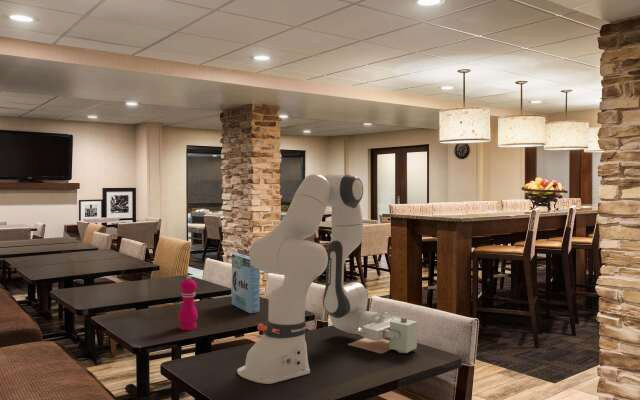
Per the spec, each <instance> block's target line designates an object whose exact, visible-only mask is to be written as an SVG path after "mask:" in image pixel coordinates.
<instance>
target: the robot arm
mask: <svg viewBox="0 0 640 400" xmlns="http://www.w3.org/2000/svg"><path fill="white" fill-rule="evenodd" d="M363 197H364V185H363V182H362V180H361V179H360V177H358V176H357V175H355V174H347V173H346V174H324V175H323V174H322V175H320V174H318V173H317V174H316V173H313V174H309V175H307V176H306V177H305V178H304V179H303V180H302V182H301V183H300V185H299V186H298V188H297V190H296V191H295V193H294V195H293V198H292V201H291V202H290V205H289V207H288V208H287V211H286V213H285V215H284V216H283V218H282V220H281V221H280V222H279V223H278V224H277V225H276V226H274V228H273V229H272V230H271V231H270V232H268V233H266V234H265V235H263V236H262V237H260V238H257V239H255V240H254V241H253V242H252V244H251V246H250V249H249V253H248V256H249V258H250V262H251V264H252V266H253V267H254V268H256V269H259V270H260V272H261V271H262V272H264V273H269V274H276V275H282V276H284V278H283V283H282V285H280V286H278V287H276V288H275V289H273V290H272V291H271V293H270V294H269V296H268V307H267V308H268V312H267V313H268V315H267V317H268V318H267V320H266V322H265V324H264V323H259V324H258V325H257V327H256V328H257V330H258V331H261V332H263V334H262V335H261V337H259V339H258V340H257V341H256V342H255V344H253V346H251V348H249V350H248V351H247V353H246V358H245V364H244V365H243V366H241V367H239V368H237V369H236V370H237V371H236V372H237V375H239V376H240V377H242V378H243V379H246V380H248V381H251V382H255V383H258V384H266V385H267V384H268V385H271V384H275V383H278V382H283V381H286V380H291V379H293V378H297V377H301V376H305V375H308V374H310V373H311V369H310V365H309V360H308V359H309V358H308V349H307V348H308V346H307V341H306V332H307V320H306V315H305V314H306V313H305V312H306V300H307V294H308V292H309V288H310V287H311V285H312V283H314V281H315V280H316V279H317V278H318V277H319V276H321V275H323V273H324V272H326V273H325V287H324V292H323V296H322V305H323V307H324V310H325V312H326V313H327V314H328V315H329V316H330V322H331V324H332V325H333V326H334V327H335V328H336V329H338V330H339V331H343V332H345V333H350V334H357V335H359V336H361V337H362V338H367V339H370V340H374V341H379V340H381V339H387V338H389V339H390V338H393V337H394V338H399V337H400V334H401V333H400V332H397V331H395V332H394V331H390V321H393V320H396V319H399V318H401V316H398V315H393V314H389V312H387V311H379V312H378V311H377V312H376V311H369V310H367V309H368V304H369V303H368V302H369V293H368V290H367V288H366V286H365V285H364V284H362V283H361V282H358V281H353V282H349V283H347V284H344V274H345V270H344V269H345V264H346V261H347V259H348V257H349V256H350V255H351V253H352V252H353V251H354V250H356V249H357V248H359V246H360V244H361V243H362V241H363V238H364V223H363V213H362V209H361V205H360V203H361V200H362V199H363ZM327 207H331V220H330V221H331V237H330V243H329V244H328V248H327V250H326V248H325V246H324V245H322V244H320V243H318V242H315V241H311V240H307V238H310V237H311V236H314V235H315V234H316V233H317V232H318V230H319V227H320V226H321V223H322V219H323V217H324V214H325V212H326V209H327Z"/></svg>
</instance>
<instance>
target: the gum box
mask: <svg viewBox="0 0 640 400" xmlns="http://www.w3.org/2000/svg"><path fill="white" fill-rule="evenodd" d="M260 272H261V270H259V269H256V268H254V267H253V266H252V264H251V262H250V258H249V254H245V253H244V254H243V253H242V252H240V253H239V252H237V253H231V305H233V306H235V307H237V308H238V309H241V310H242V311H244V312H247V313H248V314H255V313H260V312H261V311H260V304H261V303H260V302H261V301H260V300H261V298H260V297H261V296H260V294H261V293H260V292H261V290H260V289H261V288H260V287H261V283H260V281H261V278H260V275H261V274H260Z"/></svg>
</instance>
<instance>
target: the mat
mask: <svg viewBox="0 0 640 400" xmlns="http://www.w3.org/2000/svg"><path fill="white" fill-rule="evenodd" d="M389 341H390V339H389V340H388V339H386V338H384V339H381V340H379V341H374V340H370V339H367V338H365V337H362V338H361V339H358V340H355V341H353V342H350V343H347V345H348V346H351V347H355V348H359V349H364V350H365V351H371V352H374V353H376V354H377V353H378V354H384V353H386V352H388V351H390V350H392V349H390V348H389Z"/></svg>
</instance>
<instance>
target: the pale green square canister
mask: <svg viewBox="0 0 640 400" xmlns="http://www.w3.org/2000/svg"><path fill="white" fill-rule="evenodd" d="M400 317H401V316H400ZM390 331H394V332H395V331H397V332H400V333H401V334H400V337H399V338H394V337H393V338H389V348H390V349H391V350H395V351H397V350H398V351H402V352H406V353H405V354H408V353H407V352H411V351H414V350H416V349H417V348H418V347H417V346H418V321H416V320H410V319H408V318H407V317H406V316H405V317H401V318H399V319H396V320H393V321H390Z"/></svg>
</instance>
